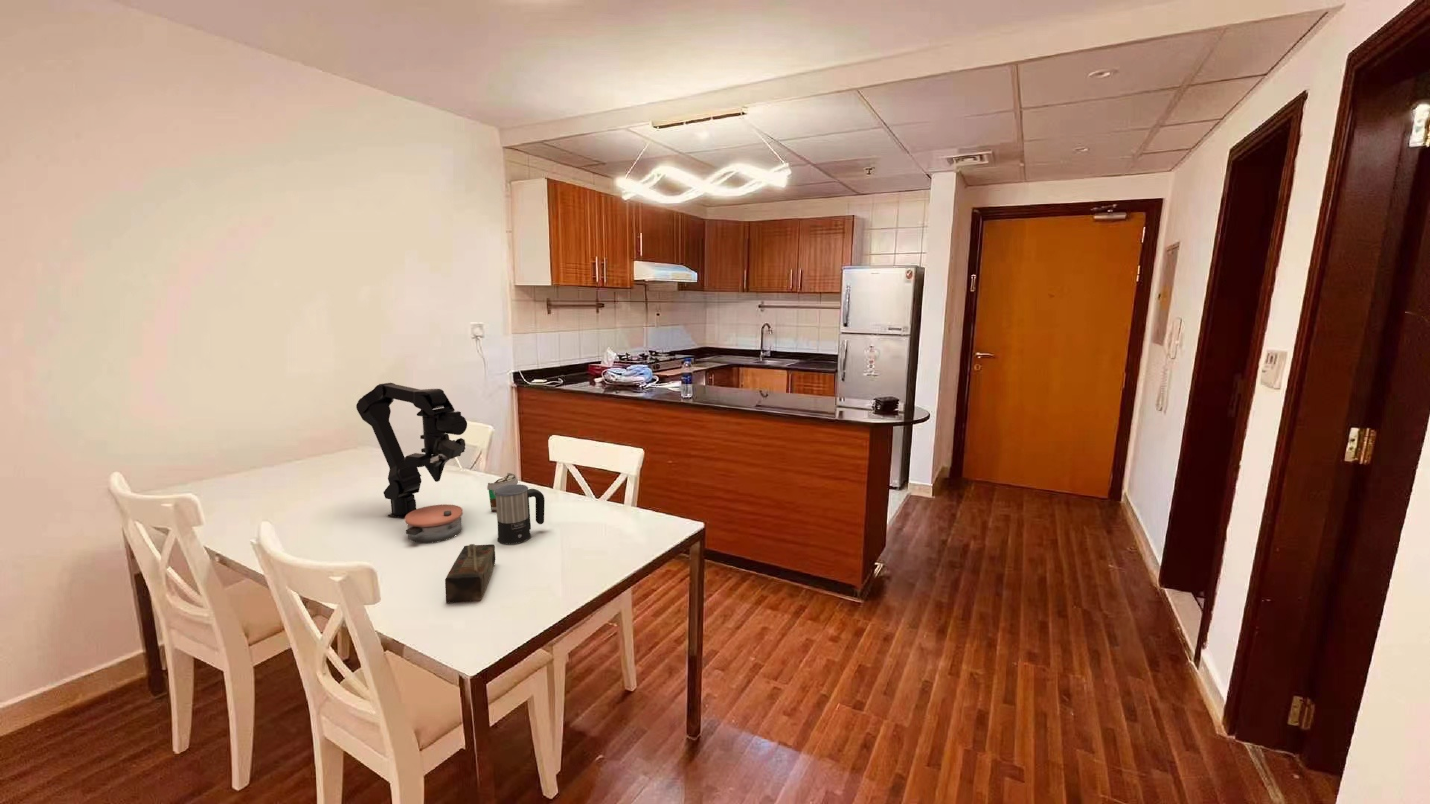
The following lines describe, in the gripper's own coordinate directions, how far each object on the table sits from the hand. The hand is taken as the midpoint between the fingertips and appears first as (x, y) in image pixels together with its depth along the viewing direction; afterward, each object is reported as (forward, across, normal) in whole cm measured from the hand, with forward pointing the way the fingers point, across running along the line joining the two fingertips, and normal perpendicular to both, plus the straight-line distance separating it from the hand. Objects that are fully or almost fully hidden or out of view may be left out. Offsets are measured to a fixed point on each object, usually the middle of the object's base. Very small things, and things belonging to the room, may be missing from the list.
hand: (437, 481), depth 172 cm
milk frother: (+13, -1, -27) cm, 30 cm away
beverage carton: (+13, -29, -35) cm, 48 cm away
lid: (+8, -8, -5) cm, 12 cm away
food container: (+13, +16, -12) cm, 24 cm away
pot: (+13, -8, -5) cm, 16 cm away
